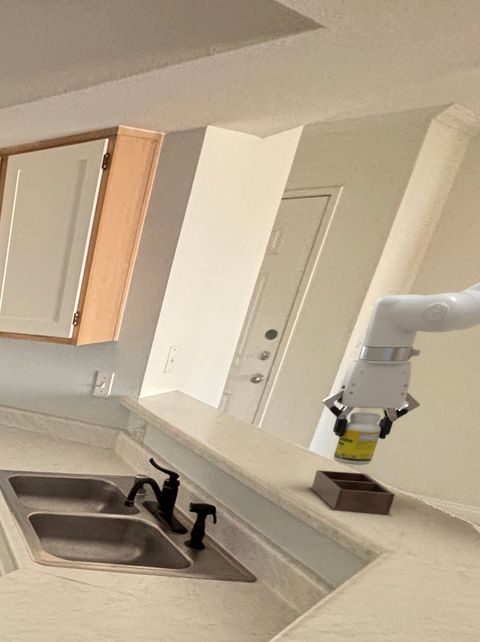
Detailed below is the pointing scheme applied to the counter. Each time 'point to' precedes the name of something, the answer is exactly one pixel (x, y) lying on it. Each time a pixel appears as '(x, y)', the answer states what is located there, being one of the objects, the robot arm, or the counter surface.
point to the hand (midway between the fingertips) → (359, 435)
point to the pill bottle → (358, 439)
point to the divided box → (352, 492)
